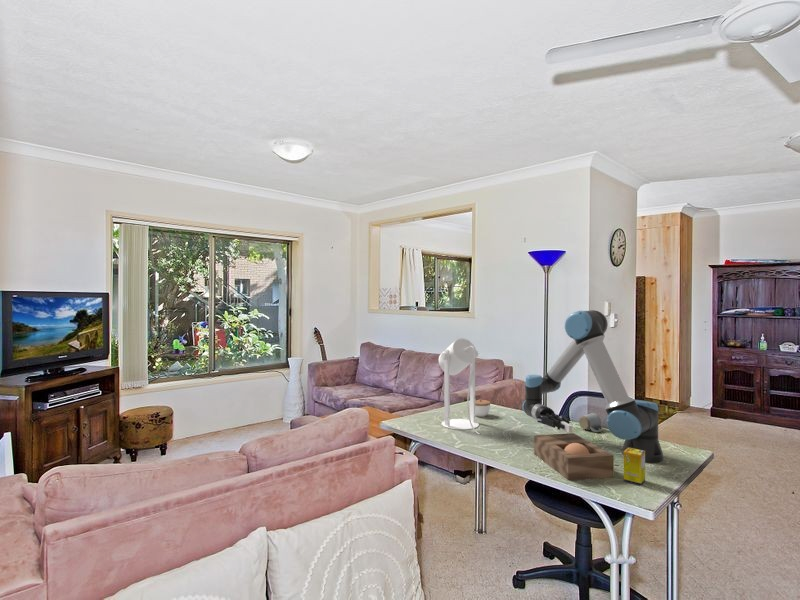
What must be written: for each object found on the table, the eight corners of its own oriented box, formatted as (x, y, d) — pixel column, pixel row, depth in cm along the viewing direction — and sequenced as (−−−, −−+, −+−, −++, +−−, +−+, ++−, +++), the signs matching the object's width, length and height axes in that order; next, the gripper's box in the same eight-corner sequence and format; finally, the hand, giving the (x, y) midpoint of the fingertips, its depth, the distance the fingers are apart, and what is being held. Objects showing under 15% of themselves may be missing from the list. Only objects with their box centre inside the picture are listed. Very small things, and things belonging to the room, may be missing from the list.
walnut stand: (534, 454, 197) (534, 435, 197) (573, 451, 199) (573, 433, 199) (568, 480, 169) (568, 458, 169) (613, 476, 172) (613, 455, 172)
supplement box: (627, 476, 172) (627, 447, 172) (645, 480, 168) (645, 450, 168) (622, 481, 168) (622, 451, 168) (641, 485, 164) (641, 454, 164)
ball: (598, 448, 177) (592, 470, 180) (575, 434, 184) (570, 455, 188) (583, 456, 171) (577, 479, 174) (560, 442, 179) (555, 463, 182)
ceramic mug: (577, 428, 234) (577, 413, 234) (589, 426, 238) (589, 411, 238) (594, 434, 225) (594, 418, 225) (606, 432, 228) (606, 416, 228)
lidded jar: (469, 413, 265) (469, 396, 265) (487, 412, 266) (487, 396, 266) (473, 418, 255) (473, 401, 255) (492, 417, 255) (492, 400, 255)
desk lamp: (462, 416, 258) (462, 335, 258) (499, 431, 230) (499, 340, 230) (430, 421, 249) (429, 337, 248) (465, 437, 220) (464, 342, 220)
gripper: (557, 422, 209) (585, 437, 185) (529, 423, 207) (555, 439, 183) (557, 405, 209) (585, 419, 185) (529, 406, 207) (555, 420, 183)
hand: (570, 429), depth 184 cm, fingers closed
